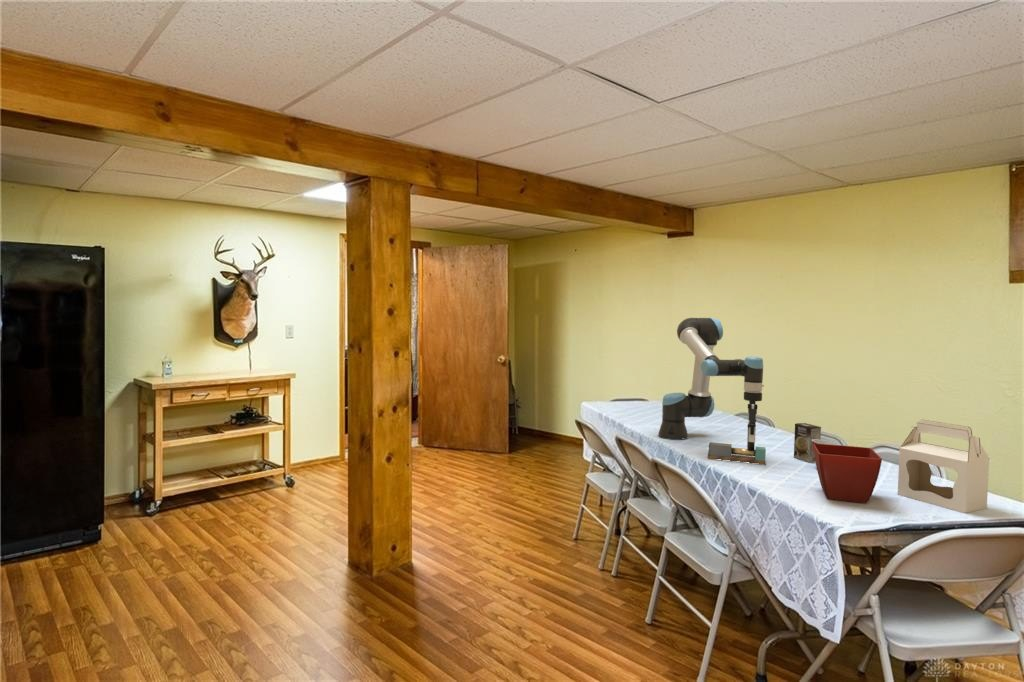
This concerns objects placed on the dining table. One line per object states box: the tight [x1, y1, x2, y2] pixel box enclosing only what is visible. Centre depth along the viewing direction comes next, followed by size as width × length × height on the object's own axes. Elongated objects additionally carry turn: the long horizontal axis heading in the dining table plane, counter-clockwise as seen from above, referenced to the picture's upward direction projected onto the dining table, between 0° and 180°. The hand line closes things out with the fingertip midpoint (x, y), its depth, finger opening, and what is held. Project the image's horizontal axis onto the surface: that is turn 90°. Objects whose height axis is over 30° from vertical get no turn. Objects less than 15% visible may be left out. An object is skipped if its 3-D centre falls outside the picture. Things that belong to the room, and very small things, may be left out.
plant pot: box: [813, 444, 883, 504], centre depth 203 cm, size 19×19×17 cm
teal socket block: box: [754, 445, 767, 462], centre depth 250 cm, size 4×5×5 cm
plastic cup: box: [812, 439, 841, 448], centre depth 240 cm, size 11×11×12 cm
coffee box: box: [793, 422, 822, 463], centre depth 255 cm, size 9×6×16 cm
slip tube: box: [731, 422, 756, 457], centre depth 252 cm, size 14×3×14 cm, turn 68°
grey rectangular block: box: [708, 441, 733, 457], centre depth 256 cm, size 10×5×5 cm, turn 68°
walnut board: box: [706, 451, 766, 465], centre depth 254 cm, size 24×7×2 cm, turn 68°
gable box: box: [897, 419, 990, 514], centre depth 199 cm, size 22×13×28 cm, turn 25°
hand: (751, 438), depth 251 cm, fingers open, 13 cm apart
